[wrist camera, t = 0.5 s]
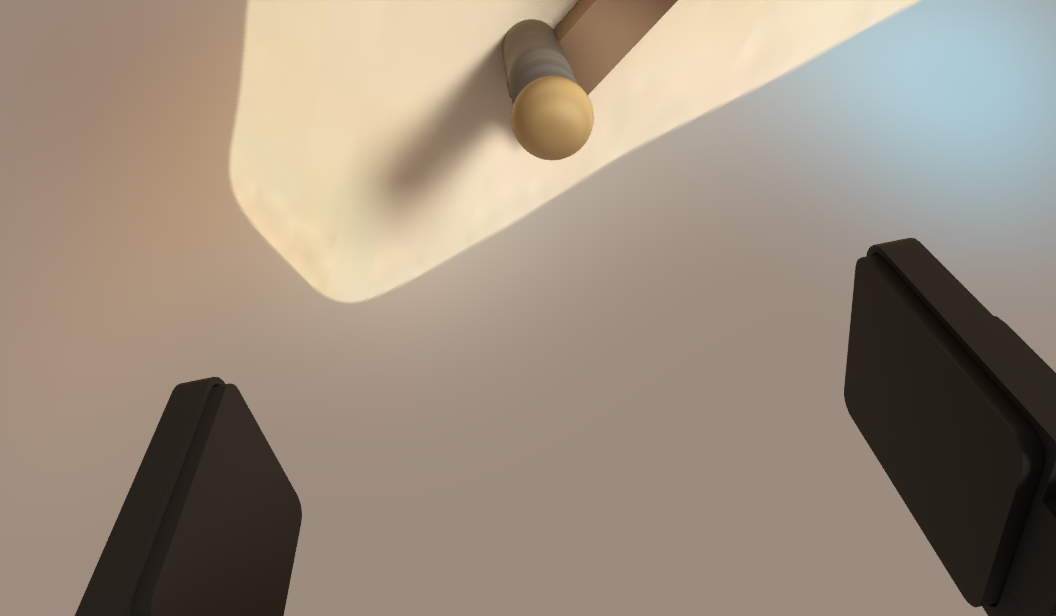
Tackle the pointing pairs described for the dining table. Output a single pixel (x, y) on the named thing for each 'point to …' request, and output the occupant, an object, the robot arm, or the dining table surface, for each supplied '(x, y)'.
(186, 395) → the robot arm
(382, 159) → the dining table surface
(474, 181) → the dining table surface
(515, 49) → the peg stop rail
